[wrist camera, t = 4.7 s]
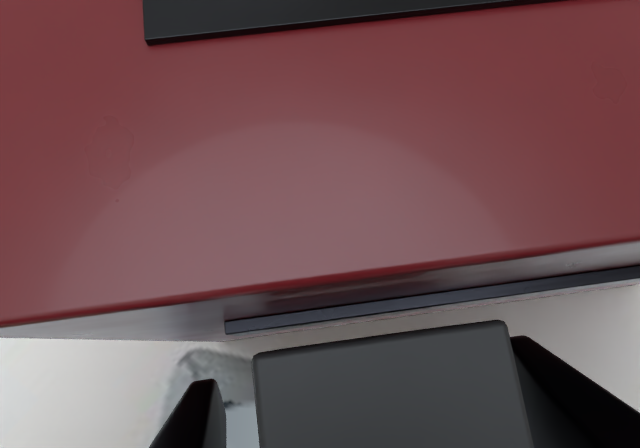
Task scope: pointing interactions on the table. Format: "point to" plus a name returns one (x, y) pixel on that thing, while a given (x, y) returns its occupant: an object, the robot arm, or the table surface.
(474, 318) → the table surface
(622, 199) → the toaster
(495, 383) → the slider
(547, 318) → the table surface
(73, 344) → the table surface
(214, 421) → the robot arm
